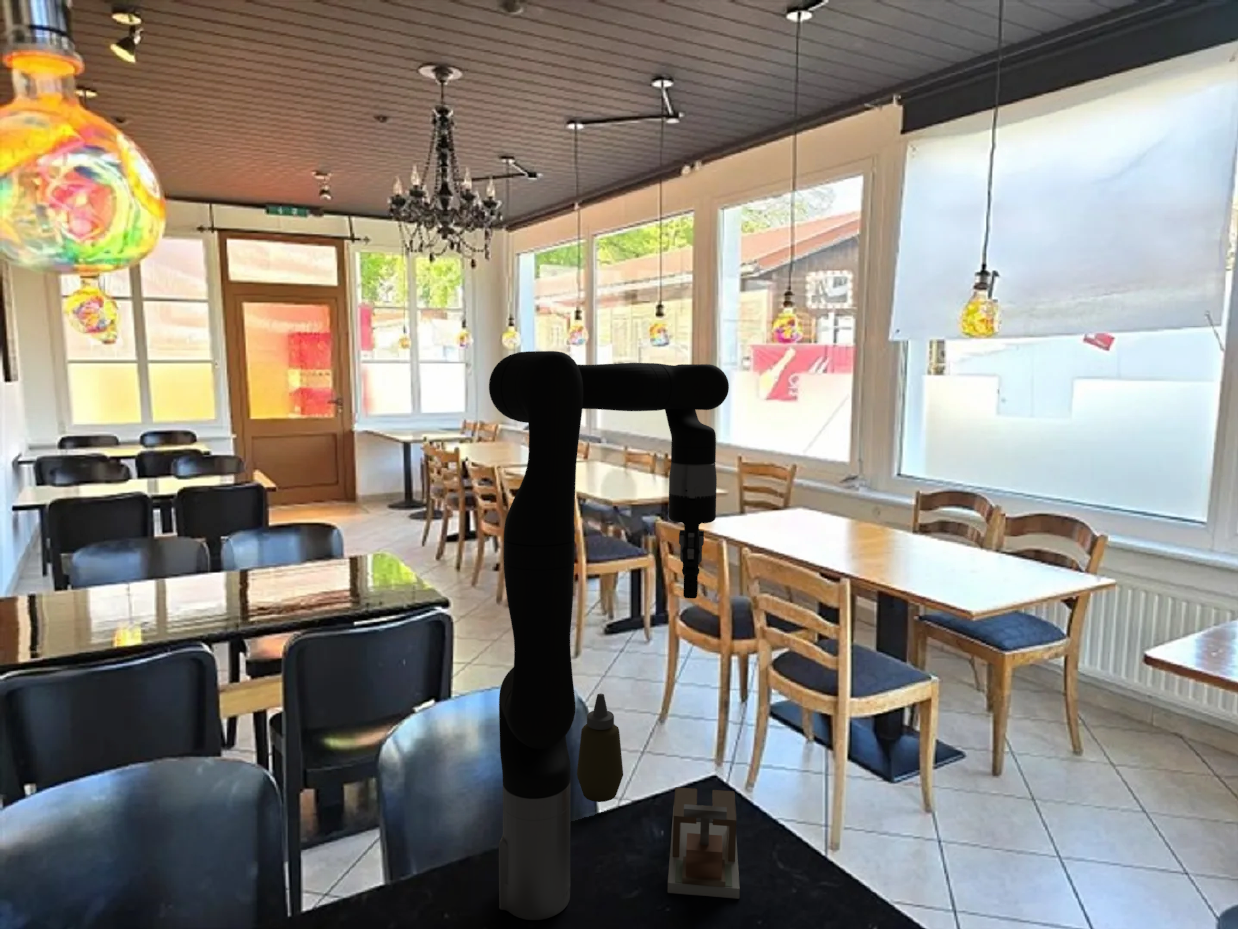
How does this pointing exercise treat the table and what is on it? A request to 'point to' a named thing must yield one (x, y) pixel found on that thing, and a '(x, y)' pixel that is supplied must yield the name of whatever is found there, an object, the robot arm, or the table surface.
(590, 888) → the table surface
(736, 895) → the tunnel
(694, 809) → the sled
